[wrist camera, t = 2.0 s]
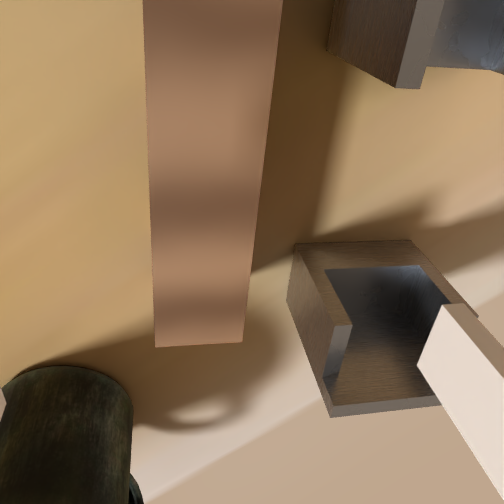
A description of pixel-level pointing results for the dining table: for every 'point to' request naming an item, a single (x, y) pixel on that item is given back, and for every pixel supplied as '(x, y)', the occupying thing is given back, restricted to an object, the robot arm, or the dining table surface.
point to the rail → (206, 158)
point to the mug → (66, 439)
